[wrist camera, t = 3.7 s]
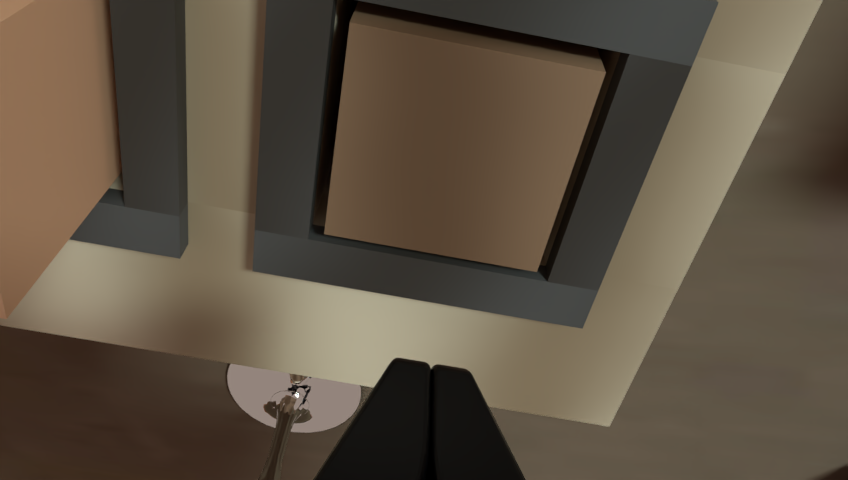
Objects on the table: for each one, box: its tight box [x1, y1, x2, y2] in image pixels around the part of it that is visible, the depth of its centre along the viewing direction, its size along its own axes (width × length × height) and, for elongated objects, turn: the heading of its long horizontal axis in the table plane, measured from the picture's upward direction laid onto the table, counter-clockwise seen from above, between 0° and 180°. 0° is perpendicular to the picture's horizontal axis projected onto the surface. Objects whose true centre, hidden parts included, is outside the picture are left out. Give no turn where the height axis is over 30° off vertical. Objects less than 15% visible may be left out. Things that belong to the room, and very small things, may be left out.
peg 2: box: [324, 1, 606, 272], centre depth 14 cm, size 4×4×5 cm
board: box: [0, 0, 823, 426], centre depth 14 cm, size 18×13×6 cm
